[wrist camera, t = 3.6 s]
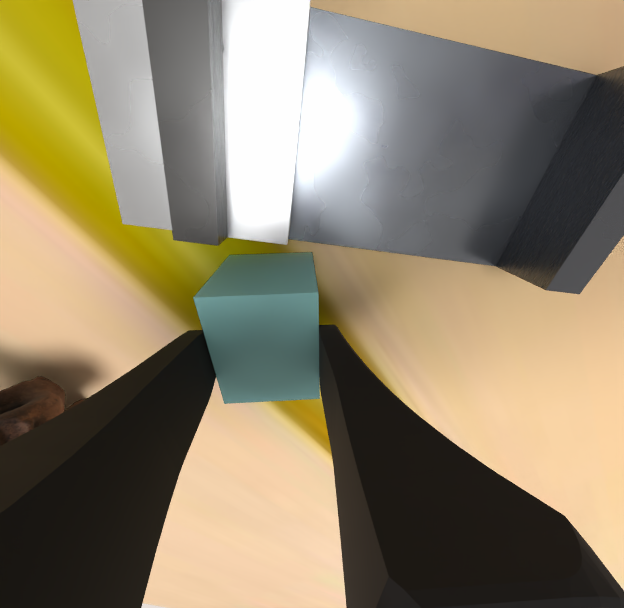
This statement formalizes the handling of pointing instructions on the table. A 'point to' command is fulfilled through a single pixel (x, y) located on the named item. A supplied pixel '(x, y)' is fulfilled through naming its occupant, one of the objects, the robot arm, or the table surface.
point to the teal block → (263, 327)
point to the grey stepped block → (200, 111)
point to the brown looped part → (29, 406)
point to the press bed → (457, 153)
